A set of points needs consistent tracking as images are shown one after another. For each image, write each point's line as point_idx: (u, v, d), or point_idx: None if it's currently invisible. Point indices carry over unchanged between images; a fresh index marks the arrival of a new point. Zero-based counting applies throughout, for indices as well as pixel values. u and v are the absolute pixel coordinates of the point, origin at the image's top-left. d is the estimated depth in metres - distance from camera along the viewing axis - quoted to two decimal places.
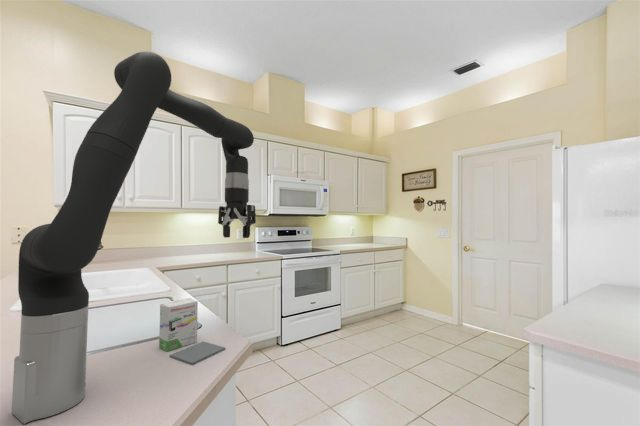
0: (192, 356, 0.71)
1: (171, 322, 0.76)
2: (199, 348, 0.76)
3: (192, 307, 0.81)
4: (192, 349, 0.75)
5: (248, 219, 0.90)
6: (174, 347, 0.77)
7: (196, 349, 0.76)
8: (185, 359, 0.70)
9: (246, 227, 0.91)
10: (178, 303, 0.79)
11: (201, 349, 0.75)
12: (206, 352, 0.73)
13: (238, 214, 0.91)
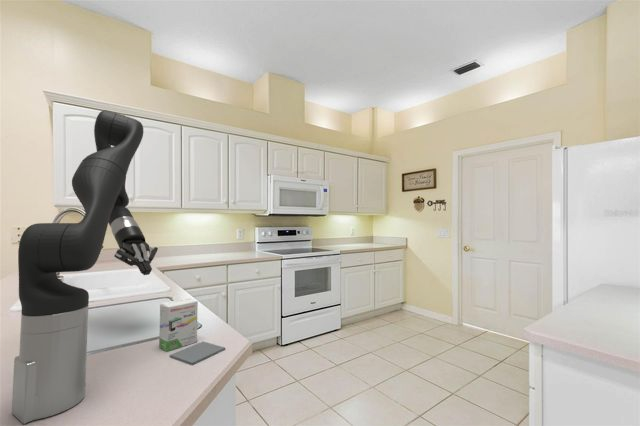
0: (192, 356, 0.71)
1: (171, 322, 0.76)
2: (199, 348, 0.76)
3: (192, 307, 0.81)
4: (192, 349, 0.75)
5: (150, 255, 0.93)
6: (174, 347, 0.77)
7: (196, 349, 0.76)
8: (185, 359, 0.70)
9: (148, 263, 0.91)
10: (178, 303, 0.79)
11: (201, 349, 0.75)
12: (206, 352, 0.73)
13: (144, 249, 0.92)
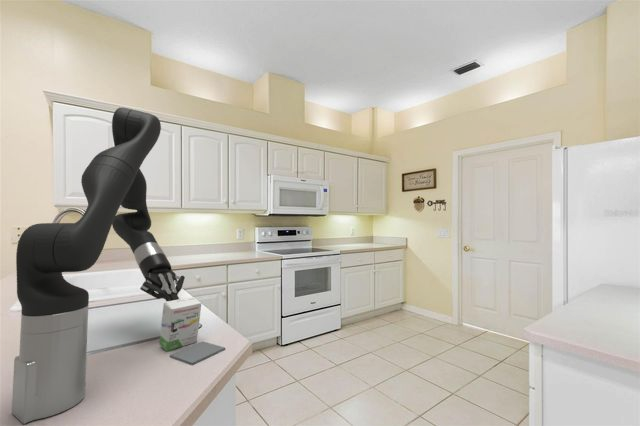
0: (192, 356, 0.71)
1: (173, 323, 0.76)
2: (199, 348, 0.76)
3: (195, 309, 0.80)
4: (192, 349, 0.75)
5: (177, 286, 0.85)
6: (174, 347, 0.77)
7: (196, 349, 0.76)
8: (185, 359, 0.70)
9: (176, 295, 0.83)
10: (182, 304, 0.78)
11: (201, 349, 0.75)
12: (206, 352, 0.73)
13: (171, 280, 0.85)
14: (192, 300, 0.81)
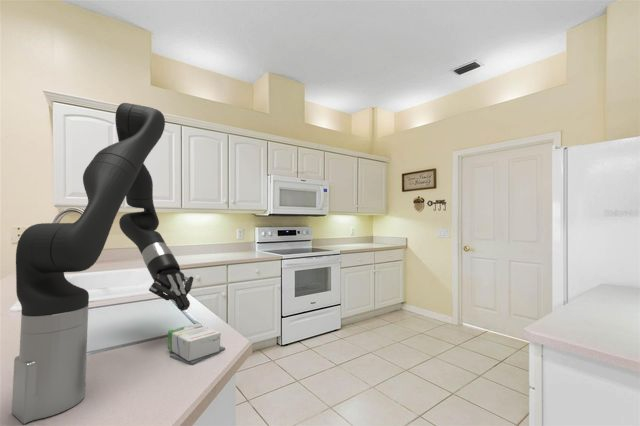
0: None
1: None
2: None
3: None
4: None
5: (186, 287, 0.83)
6: None
7: None
8: (185, 359, 0.70)
9: (185, 296, 0.81)
10: (202, 351, 0.71)
11: None
12: None
13: (180, 281, 0.83)
14: (215, 343, 0.73)
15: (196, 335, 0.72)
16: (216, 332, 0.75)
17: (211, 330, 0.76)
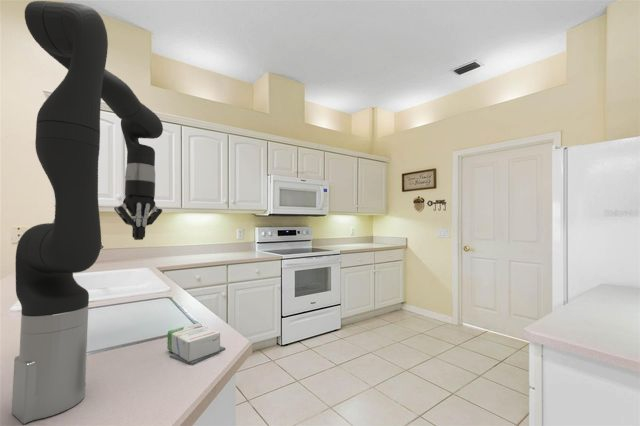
0: None
1: None
2: None
3: None
4: None
5: (150, 220, 0.86)
6: None
7: None
8: None
9: (144, 228, 0.85)
10: (202, 351, 0.71)
11: None
12: None
13: (147, 212, 0.85)
14: (214, 342, 0.73)
15: (196, 336, 0.72)
16: (216, 332, 0.74)
17: (211, 330, 0.76)
